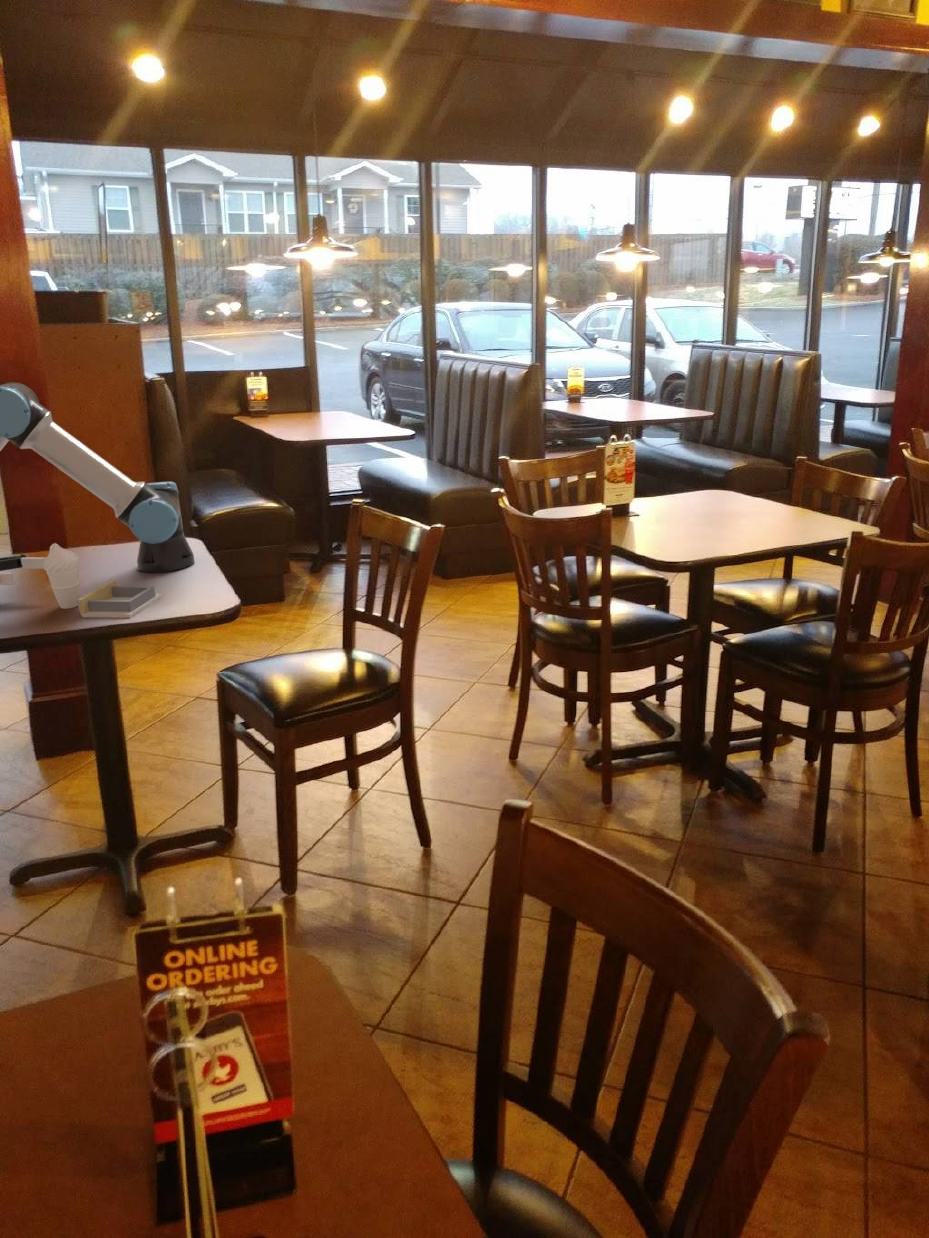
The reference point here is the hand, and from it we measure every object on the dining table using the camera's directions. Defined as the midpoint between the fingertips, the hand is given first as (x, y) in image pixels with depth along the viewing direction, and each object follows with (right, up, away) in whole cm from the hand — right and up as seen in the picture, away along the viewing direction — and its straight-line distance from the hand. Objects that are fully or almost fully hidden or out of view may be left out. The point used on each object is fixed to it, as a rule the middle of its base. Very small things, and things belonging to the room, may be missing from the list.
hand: (29, 570), depth 248 cm
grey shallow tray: (+23, -9, -2) cm, 25 cm away
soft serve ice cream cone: (+9, -9, +1) cm, 13 cm away
